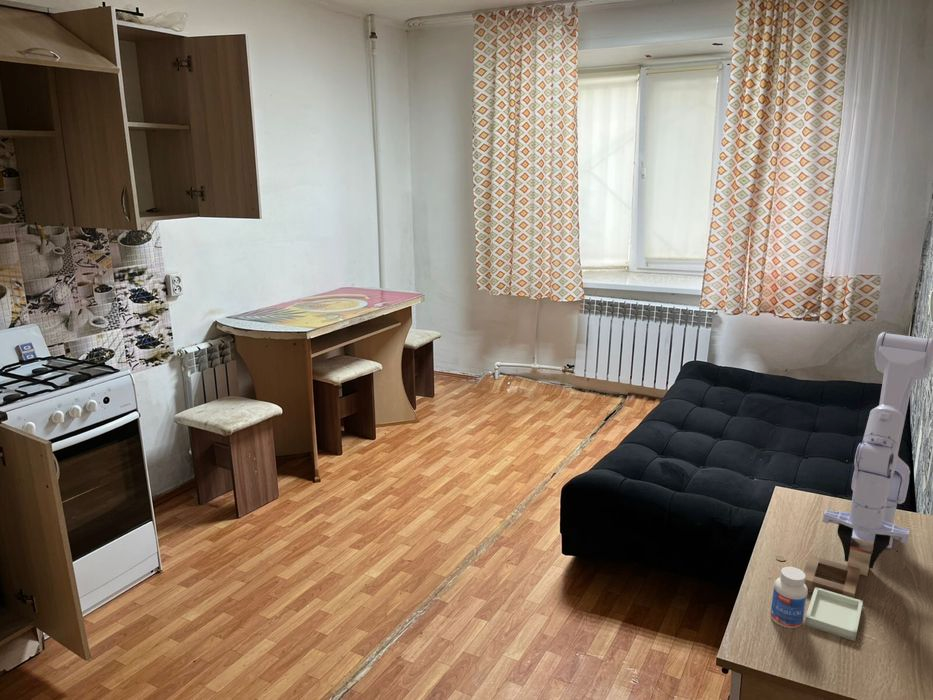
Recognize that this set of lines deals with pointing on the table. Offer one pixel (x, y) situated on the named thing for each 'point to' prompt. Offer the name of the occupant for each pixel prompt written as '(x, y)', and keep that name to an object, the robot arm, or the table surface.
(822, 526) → the table surface
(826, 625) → the tray
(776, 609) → the pill bottle
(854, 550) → the pink-ended wooden beam
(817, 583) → the wooden square frame
